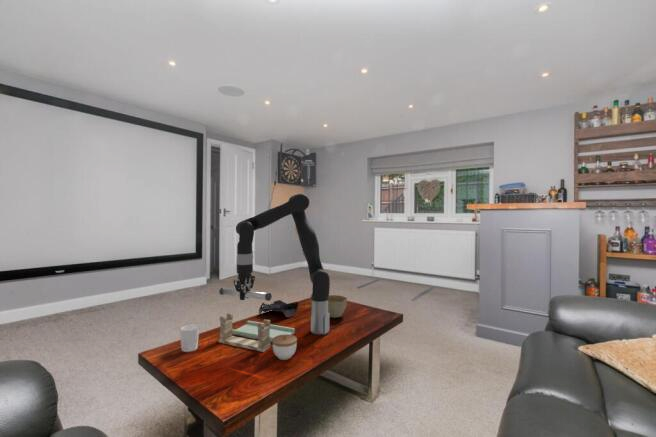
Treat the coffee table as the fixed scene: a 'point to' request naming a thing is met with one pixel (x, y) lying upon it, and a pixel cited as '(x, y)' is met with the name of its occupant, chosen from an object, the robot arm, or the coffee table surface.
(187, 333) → the white cup
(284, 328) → the mat tray
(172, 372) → the coffee table surface
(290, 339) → the lidded jar
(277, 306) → the grey mechanical device
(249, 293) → the steel rod
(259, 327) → the rack
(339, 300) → the planter bowl
